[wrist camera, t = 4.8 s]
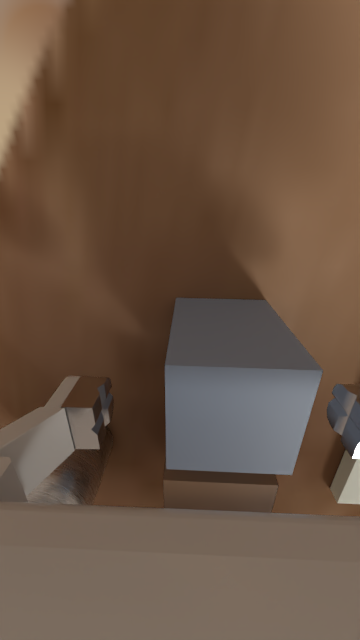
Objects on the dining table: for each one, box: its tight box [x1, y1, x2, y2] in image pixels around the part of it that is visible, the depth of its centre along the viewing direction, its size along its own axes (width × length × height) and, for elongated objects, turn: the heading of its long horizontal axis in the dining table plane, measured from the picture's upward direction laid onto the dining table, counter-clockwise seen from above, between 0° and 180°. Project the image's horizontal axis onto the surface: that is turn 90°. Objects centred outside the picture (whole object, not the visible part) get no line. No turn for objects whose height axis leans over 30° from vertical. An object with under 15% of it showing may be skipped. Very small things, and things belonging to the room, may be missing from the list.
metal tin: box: [26, 426, 113, 505], centre depth 14 cm, size 5×5×7 cm
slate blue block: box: [165, 298, 323, 475], centre depth 11 cm, size 4×4×6 cm
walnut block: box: [163, 458, 279, 513], centre depth 14 cm, size 5×5×5 cm
